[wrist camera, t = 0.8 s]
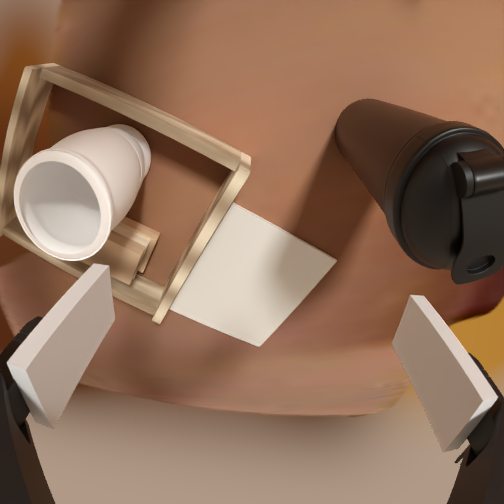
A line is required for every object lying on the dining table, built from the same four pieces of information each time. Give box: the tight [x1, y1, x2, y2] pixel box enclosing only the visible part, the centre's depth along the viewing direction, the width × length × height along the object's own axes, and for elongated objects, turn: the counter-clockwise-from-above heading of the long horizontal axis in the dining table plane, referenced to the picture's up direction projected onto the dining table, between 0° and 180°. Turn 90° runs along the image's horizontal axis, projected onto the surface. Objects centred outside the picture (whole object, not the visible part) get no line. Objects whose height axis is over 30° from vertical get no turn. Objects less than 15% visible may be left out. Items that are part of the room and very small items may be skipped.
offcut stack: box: [79, 217, 160, 285], centre depth 38 cm, size 6×18×6 cm, turn 60°
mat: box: [169, 202, 337, 347], centre depth 46 cm, size 20×16×1 cm
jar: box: [14, 124, 151, 261], centre depth 29 cm, size 11×10×15 cm
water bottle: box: [335, 99, 504, 284], centre depth 24 cm, size 10×10×23 cm
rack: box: [0, 63, 251, 324], centre depth 35 cm, size 24×28×6 cm
